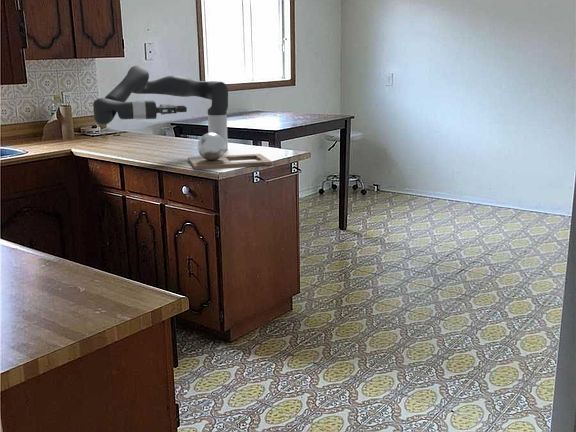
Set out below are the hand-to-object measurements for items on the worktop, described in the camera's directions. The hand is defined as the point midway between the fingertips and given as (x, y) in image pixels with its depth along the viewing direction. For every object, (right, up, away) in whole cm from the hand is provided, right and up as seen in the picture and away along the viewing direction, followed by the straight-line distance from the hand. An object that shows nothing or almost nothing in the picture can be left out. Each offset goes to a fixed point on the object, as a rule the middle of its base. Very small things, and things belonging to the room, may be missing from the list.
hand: (185, 108), depth 263 cm
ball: (+10, -15, +7) cm, 19 cm away
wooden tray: (+17, -22, +11) cm, 30 cm away
